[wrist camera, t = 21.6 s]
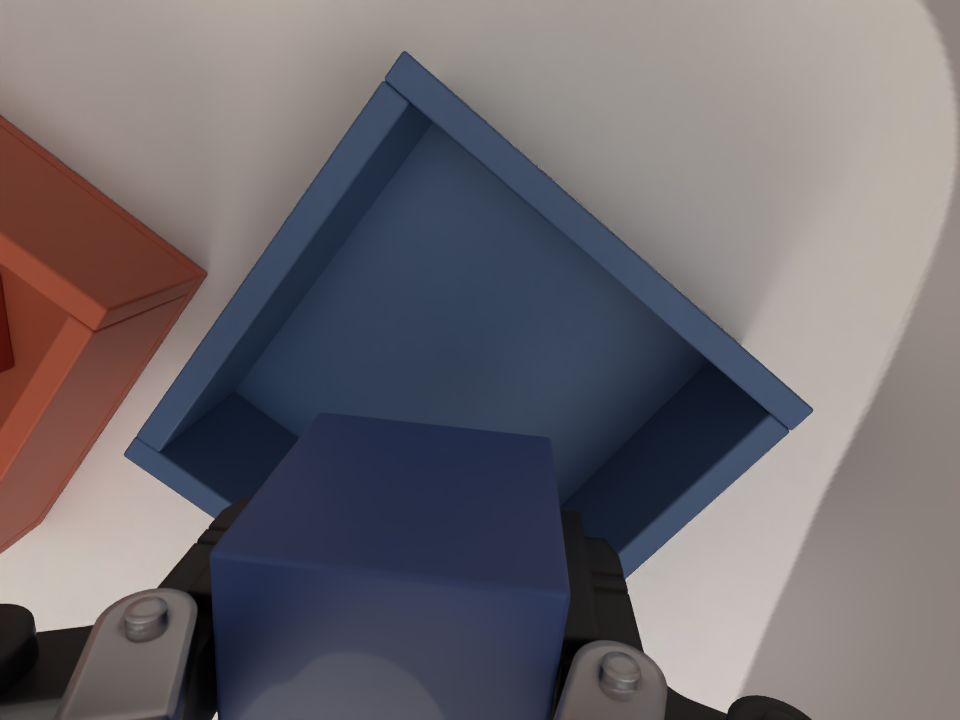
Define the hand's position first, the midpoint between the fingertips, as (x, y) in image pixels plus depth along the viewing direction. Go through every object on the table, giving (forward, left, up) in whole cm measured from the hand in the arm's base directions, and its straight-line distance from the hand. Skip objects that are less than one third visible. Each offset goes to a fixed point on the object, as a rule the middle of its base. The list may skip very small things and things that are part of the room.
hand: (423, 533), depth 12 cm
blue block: (0, 0, 0) cm, 0 cm away
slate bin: (0, 0, -10) cm, 10 cm away
